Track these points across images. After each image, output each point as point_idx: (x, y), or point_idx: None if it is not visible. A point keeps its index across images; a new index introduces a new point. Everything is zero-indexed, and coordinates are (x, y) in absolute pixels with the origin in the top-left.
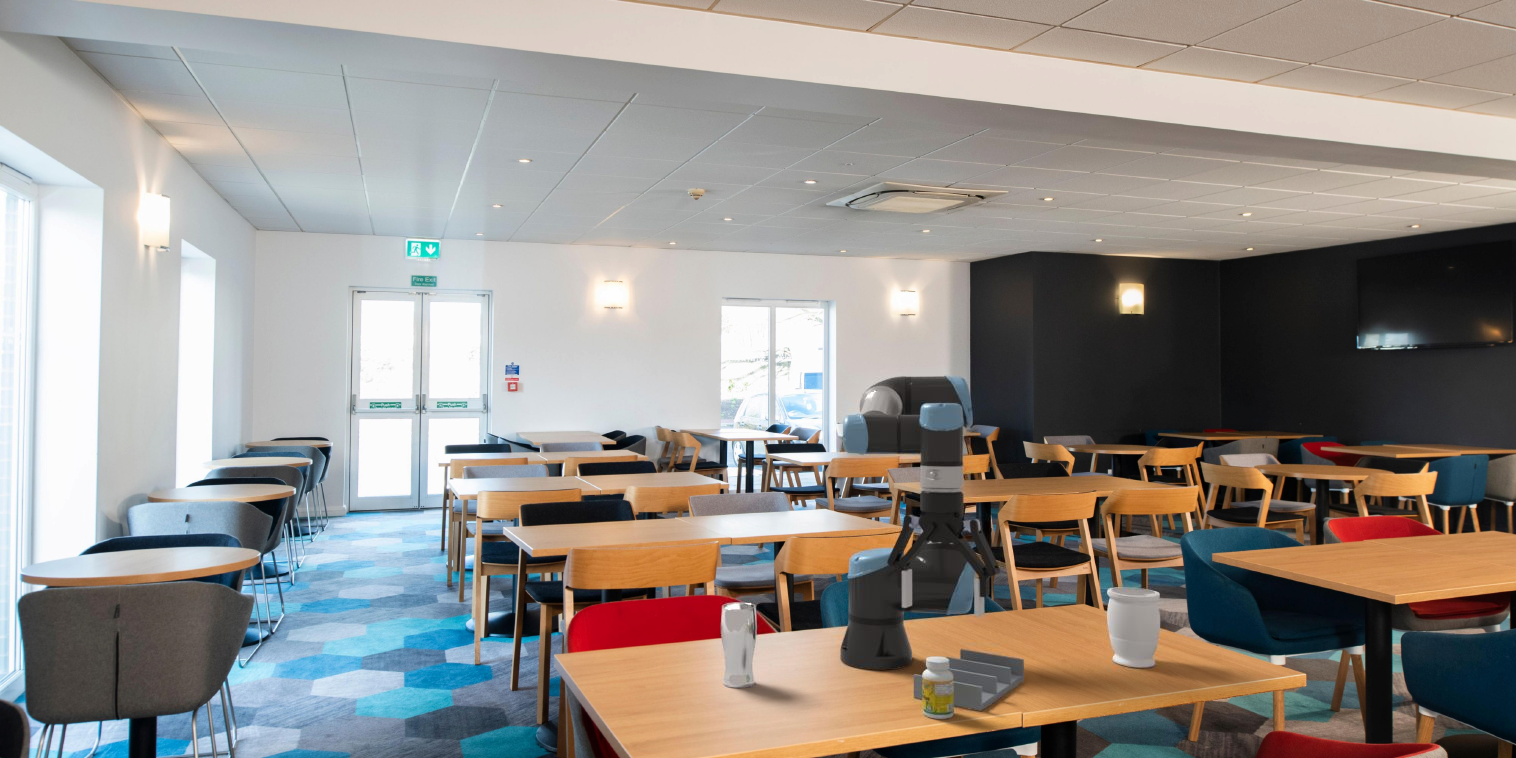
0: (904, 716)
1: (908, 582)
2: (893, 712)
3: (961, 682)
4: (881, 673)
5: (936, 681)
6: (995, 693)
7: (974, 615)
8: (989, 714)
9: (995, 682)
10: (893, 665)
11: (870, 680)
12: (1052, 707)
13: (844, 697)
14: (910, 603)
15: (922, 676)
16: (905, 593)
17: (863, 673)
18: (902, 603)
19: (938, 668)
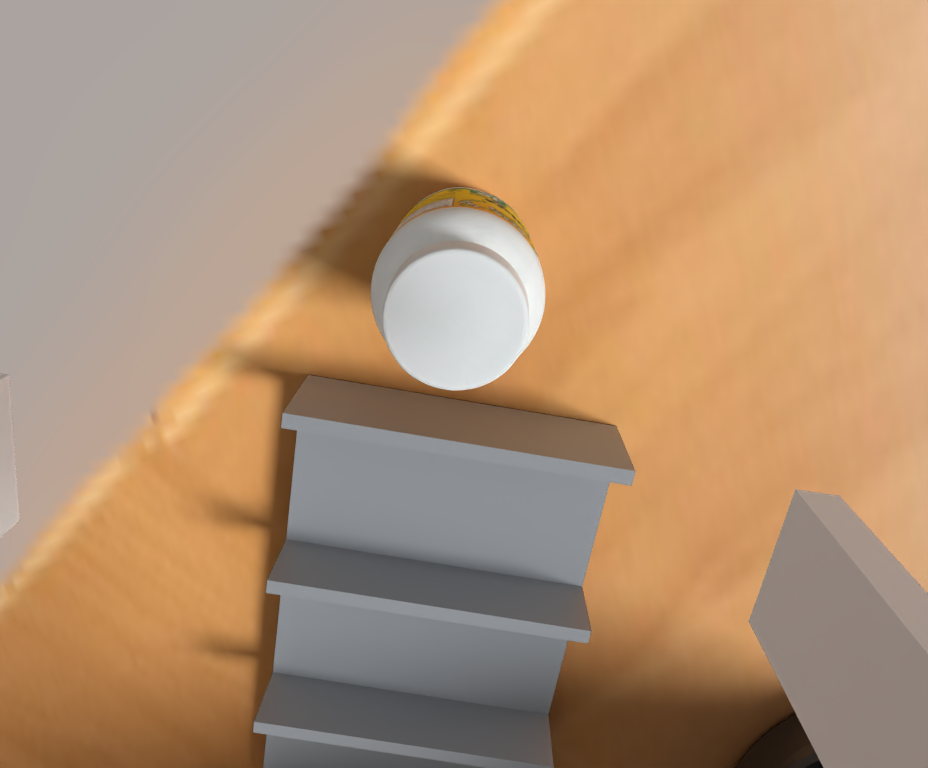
0: (597, 162)
1: (909, 759)
2: (658, 194)
3: (438, 576)
4: None
5: (442, 207)
6: (287, 540)
7: (2, 381)
8: (266, 353)
9: (275, 567)
10: (782, 737)
11: None
12: (78, 536)
13: (924, 300)
14: (769, 606)
15: (540, 265)
16: (872, 584)
17: None
18: (851, 516)
19: (433, 245)
